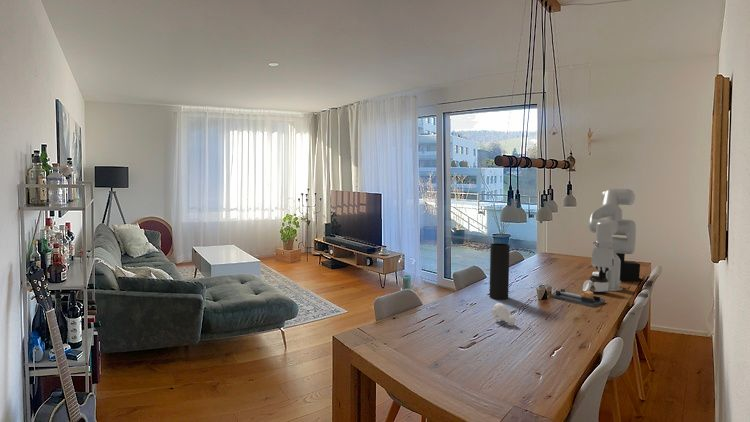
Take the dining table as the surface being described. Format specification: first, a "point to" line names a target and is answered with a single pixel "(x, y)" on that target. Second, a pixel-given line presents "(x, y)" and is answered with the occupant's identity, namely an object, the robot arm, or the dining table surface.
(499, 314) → the white rounded lump
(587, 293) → the block
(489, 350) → the dining table surface
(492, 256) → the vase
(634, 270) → the bookend
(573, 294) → the strap
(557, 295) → the plate
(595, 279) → the spread jar
